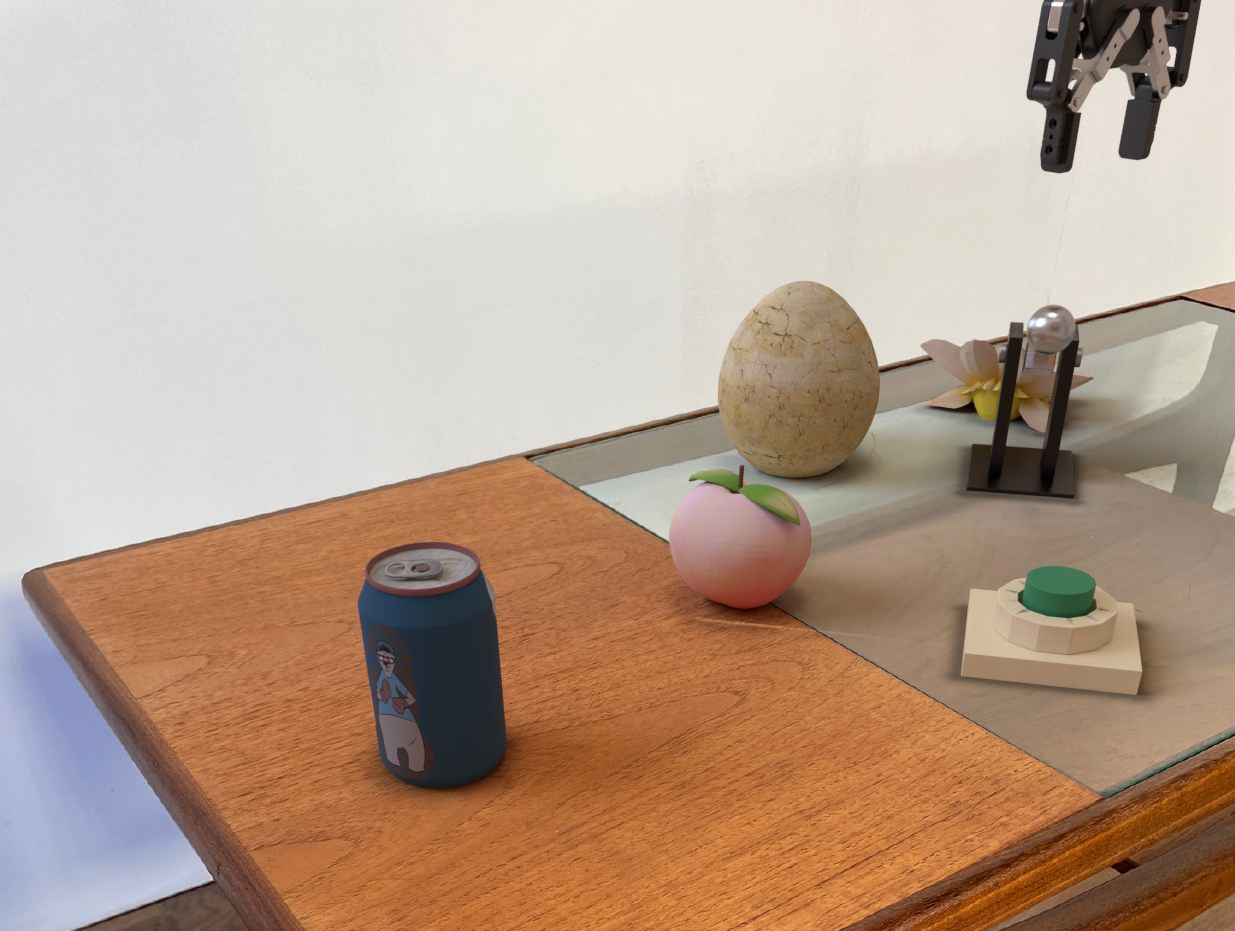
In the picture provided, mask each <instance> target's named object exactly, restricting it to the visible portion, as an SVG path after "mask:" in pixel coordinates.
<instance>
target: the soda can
mask: <svg viewBox="0 0 1235 931" xmlns="http://www.w3.org/2000/svg"><path fill="white" fill-rule="evenodd" d="M364 575H365V579H364V582H363V585H362V587H361V590H360V593H359V595H358V598H357V609H358V611H357V612H358V618H359V623H360V630H361V637H362V644H363V652H364V657H365V664H366V671H367V677H368V678H367V679H368V684H369V692H370V698H371V705H372V711H373V720H374V725H375V726H374V727H375V730H376V738H377V746H378V752H379V758H380V760H381V761H382V762H381V763H383V765H384V766H385V767H386V769H387V770H388V772H390V773H391V774H392V775H393V777H395V778H396V779H397V780H399V781H401V782H403V783H405V784H407V785H411V786H414V787H418V788H422V789H423V788H424V789H451V788H457V787H461V786H465V785H468V784H471V783H473V782H474V783H475V782H477V781H479V780H481V779H483V778H484V777H486V776H488V775H489V774H490V773H491V772H492V771H494V770H495V769H496V768H497V767H498V765H499V764H500V761H501V760H502V758H503V756H504V754H505V751H506V749H507V744H508V738H507V728H506V714H505V703H504V692H503V690H504V689H503V678H502V667H501V656H500V654H501V653H500V644H499V630H498V620H497V619H498V618H497V607H496V596H495V595H496V594H495V589H494V587H493V585H492V583H491V581H490V580H489V579H488V577H487V575H486V574H485V573H484V571H483V570H482V568H481V560H480V558H479V556H478V554H476V552H474V551H473V550H471V549H470V548H467V547H465V546H463V545H459V544H456V543H452V542H446V541H421V542H412V543H405V544H401V545H398V546H394V547H390V548H388V549H385V550H383V551H381V552H380V553H379V552H378V553H376V555H374V556H373V557H371V558H370V560H369V561H368V562H367V563H366V565H365V568H364Z"/></svg>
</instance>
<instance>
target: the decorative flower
mask: <svg viewBox="0 0 1235 931" xmlns="http://www.w3.org/2000/svg"><path fill="white" fill-rule="evenodd" d="M1004 344H1007V342H1006V343H1004ZM919 347H920V348H921V349H922V350H923V351H924V352H925V353H926V354H927V355H928V356H929V357H930V358H931V359H932V360H933V361H934V362H935V363H937V364H938V365H939V366H940V367H941V368H943V369H944V370H945V371H947V373H949V374H950V375H952V376H953V377H954V378H956V379H957V380H958V381H960V382H962V383H963V384H965V385H963V386H960V387H956V388H954V389H950V390H948V391H946V392H944V393H942V394H940V395H939V396H937V397H935V398H933V399H932V400H931V401H929V402H926V403H925V405H926V406H931V407H939V408H940V407H941V408H946V409H947V408H948V409H958V408H962V407H965V406H966V405H969V403H971V404H974V408H975V410H976V412H977V414H978V416H979V417H980V418H982V419H983V420H985V421H990V422H995V419H996V412H997V406H998V399H999V393H1000V386H1001V380H1002V373H1003V367H1004V363H998V359H999V352H1000V347H999V348H997V350H996V347H995V346H994V345H993V344H991V343H990V342H989V341H988V340H982V339H980V340H979V339H977V338H973V339H972V340H969V341H965V342H964V343H963V344H962V346H959V345H958V344H955V343H953V342H950V341H948V340H945V339H940V338H939V339H938V338H932V339H929V340H927V341H925V342H922V343H921V344H920V345H919ZM1024 355H1025V349H1024V348H1023V347H1022V349H1021V355H1020V361H1019V367H1018V374H1017V380H1016V386H1015V392H1014V399H1013V405H1012V411H1011V417H1010V422H1011V421H1014V420H1016V419H1018V418H1019V417H1022V419H1023V420H1024V421H1025V423H1026V424H1027V425H1028V427H1030V429H1034V430H1035V431H1037V432H1040V433H1045V432H1046V426H1047V420H1048V415H1049V409H1050V402H1048V400H1047V399H1051V398H1052V392H1053V387H1054V381H1055V375H1056V371H1055V370H1053V372H1052V374H1051V375H1050V376H1049V375H1031V374H1022V368H1023V361H1024ZM1094 377H1095V375H1094V374H1090V373H1087V372H1085V371H1080V370H1074V373H1073V379H1072V384H1071V389H1070V391H1072V390H1075V389H1077V388H1078V387H1082V385H1085V384H1087V383H1089V382H1090V381H1093V380H1094V379H1095V378H1094Z"/></svg>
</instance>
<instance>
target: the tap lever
mask: <svg viewBox="0 0 1235 931" xmlns="http://www.w3.org/2000/svg"><path fill="white" fill-rule="evenodd" d="M1075 325H1076V320H1075V317H1074V316H1073V313H1071V311H1070V310H1069V309H1068V308H1066V307H1065V306H1062V305H1060V304H1048V305H1045V306H1042V307H1040V308H1039V309H1037V310H1036V311H1035V312H1034V313H1033V314H1032V315H1031V316H1030V318H1029V320H1028V321H1027V325H1026V342H1025V349H1024V350H1025V355H1024V361H1023V368H1022V374H1031V375H1049V376H1050V375H1051V374H1052V372H1053V371H1055V366H1056V359H1057V354H1058V353H1060V351H1062V350H1063V349H1065V348H1066V347H1067V346H1068V345H1069V344H1070V342H1071V341H1072V339H1073V336H1074V333H1075Z"/></svg>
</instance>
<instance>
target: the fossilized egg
mask: <svg viewBox="0 0 1235 931" xmlns="http://www.w3.org/2000/svg"><path fill="white" fill-rule="evenodd" d="M748 312H749V313H747V315H746V316H745V317H744V318H743V320H742V321H741V322H740V323H739V325H738V327H737V329H736V330H735V332H734V333H733V335H732V337H731V339H730V341H729V343H728V345H727V347H726V351H725V353H724V355H723V358H722V361H721V365H720V371H719V374H718V382H717V383H718V384H717V404H718V405H717V406H718V411H719V416H720V421H721V423H722V425H723V428H724V430H725V433H726V436H727V438H728V440H729V441H730V443H731V444H732V446H733V448H734V449H735V450H736V451H737V453H738V454H739V456H741V458H743V459H744V460H745V461H746V462H748V463H749V464H750V465H751V466H752V467H754V468H755V469H756V470H758V471H760V472H762V473H764V474H766V475H769V476H773V477H778V478H779V477H780V478H787V479H805V478H812V477H817V476H820V475H824V474H826V473H828V472H830V471H832V470H834V469H836V468H837V467H838V466H840V465H841V464H842V463H844V462H845V461H846V460H847V459H848V458H849V457H850V456H851V455H852V454H853V453H854V452H855V451H856V450H857V448H859V446H860V445H861V444H862V442H863V441H864V439H865V437H866V435H867V434H868V432H869V430H870V428H871V426H872V423H873V421H874V418H875V415H876V412H877V408H878V405H879V400H880V388H881V377H880V370H879V369H880V368H879V362H878V361H879V360H878V358H877V354H876V350H875V347H874V343H873V341H872V338H871V336H870V334H869V333H868V332H869V331H868V330H867V327H866V326H865V324H864V323H863V321H862V320H861V318H860V316H859V314H858V313H857V312H856V311H855V309H854V308H853V307H852V306H851V305H850V304H849V303H848V301H847V300H846V299H845V298H844V297H843V296H842V295H840V294H839V293H838V292H836V291H835V290H833V289H832V288H831V287H829V286H826V285H824V284H821V283H820V282H816V281H812V280H797V281H792V282H789V283H786V284H784V285H781V286H779V287H776V288H775V289H774V290H772V291H771V292H769V293H768V294H766V295H765V296H764V297H763V298H761V300H759V302H758V303H756V304H755V305H754V306H753V308H751V310H750V311H748Z"/></svg>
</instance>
